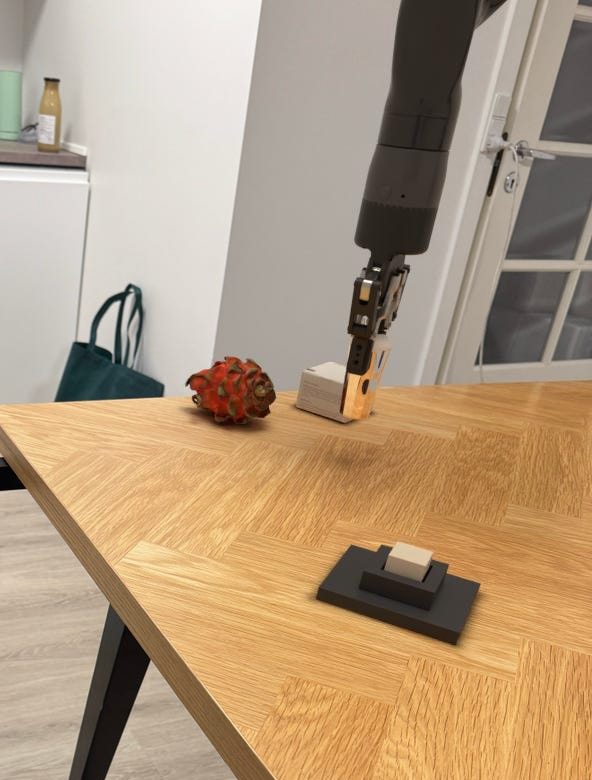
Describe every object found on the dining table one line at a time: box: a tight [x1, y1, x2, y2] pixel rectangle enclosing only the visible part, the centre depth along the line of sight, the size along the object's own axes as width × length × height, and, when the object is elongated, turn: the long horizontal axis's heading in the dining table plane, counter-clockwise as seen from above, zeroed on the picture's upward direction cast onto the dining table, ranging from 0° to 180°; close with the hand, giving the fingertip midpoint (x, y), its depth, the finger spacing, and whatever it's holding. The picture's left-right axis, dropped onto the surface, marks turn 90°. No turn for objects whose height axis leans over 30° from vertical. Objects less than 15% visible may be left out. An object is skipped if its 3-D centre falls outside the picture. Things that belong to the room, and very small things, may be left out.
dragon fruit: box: [183, 355, 277, 425], centre depth 112 cm, size 8×8×12 cm
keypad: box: [315, 544, 482, 646], centre depth 78 cm, size 12×10×3 cm
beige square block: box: [384, 541, 434, 582], centre depth 77 cm, size 3×3×2 cm
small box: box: [295, 361, 376, 424], centre depth 119 cm, size 8×8×5 cm
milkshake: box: [339, 317, 393, 421], centre depth 99 cm, size 4×5×10 cm
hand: (362, 367), depth 98 cm, fingers closed on milkshake, 4 cm apart
